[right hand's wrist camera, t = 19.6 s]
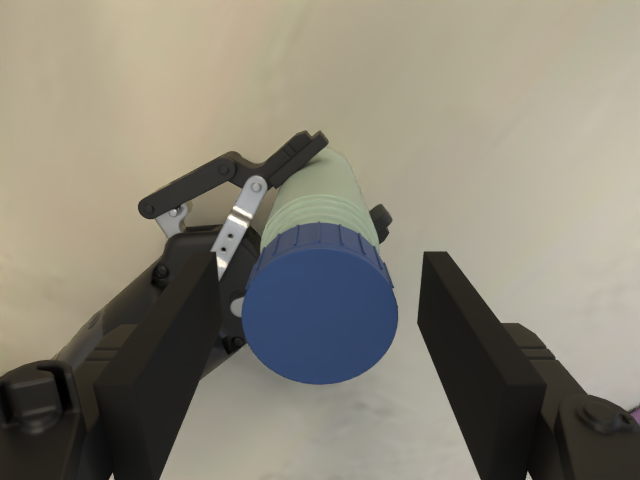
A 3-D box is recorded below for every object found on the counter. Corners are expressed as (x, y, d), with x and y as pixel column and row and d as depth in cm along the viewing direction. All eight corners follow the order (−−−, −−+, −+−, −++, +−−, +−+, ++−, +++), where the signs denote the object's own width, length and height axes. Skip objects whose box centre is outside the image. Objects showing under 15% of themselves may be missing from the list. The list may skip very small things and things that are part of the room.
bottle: (308, 132, 29) (292, 203, 12) (368, 171, 30) (432, 287, 13) (272, 192, 30) (211, 331, 13) (330, 227, 31) (342, 398, 14)
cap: (394, 333, 15) (407, 375, 13) (266, 350, 15) (257, 395, 13) (379, 210, 14) (391, 234, 11) (237, 232, 14) (222, 260, 12)
